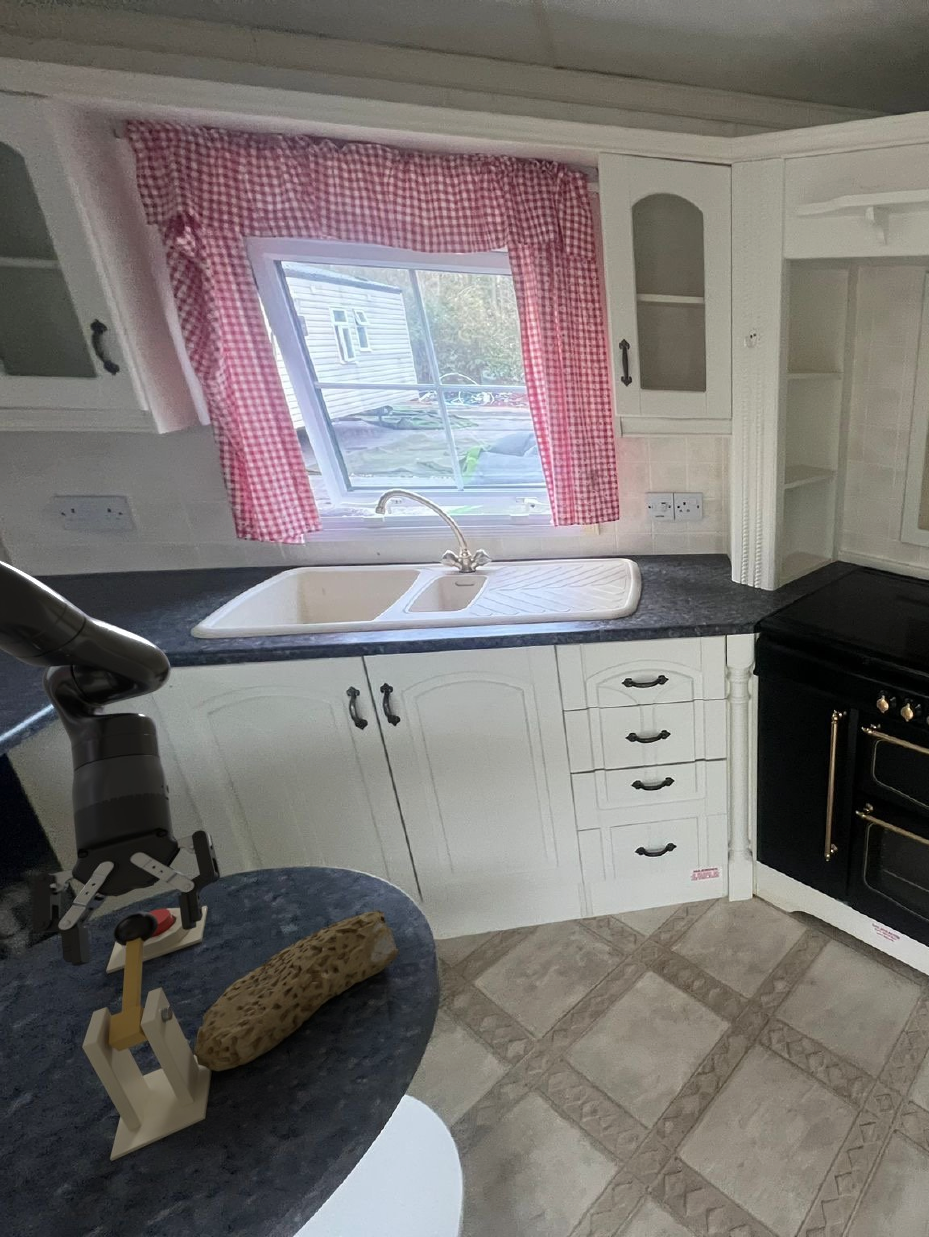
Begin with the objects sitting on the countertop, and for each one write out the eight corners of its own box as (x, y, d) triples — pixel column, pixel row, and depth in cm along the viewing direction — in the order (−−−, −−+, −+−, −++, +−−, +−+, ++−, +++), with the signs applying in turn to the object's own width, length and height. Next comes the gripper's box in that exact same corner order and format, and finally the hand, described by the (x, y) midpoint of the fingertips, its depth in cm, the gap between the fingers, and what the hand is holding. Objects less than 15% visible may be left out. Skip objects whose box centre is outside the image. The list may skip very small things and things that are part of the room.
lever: (121, 928, 73) (108, 914, 71) (163, 915, 75) (151, 901, 73) (112, 1057, 65) (97, 1045, 63) (158, 1038, 67) (146, 1027, 65)
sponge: (377, 934, 93) (181, 1003, 78) (382, 892, 91) (180, 956, 76) (407, 1006, 86) (198, 1099, 71) (414, 964, 83) (198, 1050, 68)
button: (134, 944, 86) (129, 934, 85) (139, 925, 88) (135, 916, 88) (172, 932, 88) (167, 922, 87) (176, 914, 90) (172, 904, 90)
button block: (109, 978, 84) (100, 961, 83) (121, 940, 89) (113, 924, 88) (203, 946, 89) (196, 929, 88) (209, 912, 94) (203, 896, 93)
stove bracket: (132, 1088, 72) (84, 999, 67) (216, 1053, 76) (178, 966, 71) (113, 1166, 65) (59, 1073, 60) (207, 1123, 69) (163, 1032, 64)
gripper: (13, 819, 69) (22, 978, 65) (194, 775, 77) (214, 914, 73) (48, 831, 75) (59, 977, 71) (213, 789, 83) (232, 919, 79)
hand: (137, 945), depth 72 cm, fingers open, 8 cm apart
